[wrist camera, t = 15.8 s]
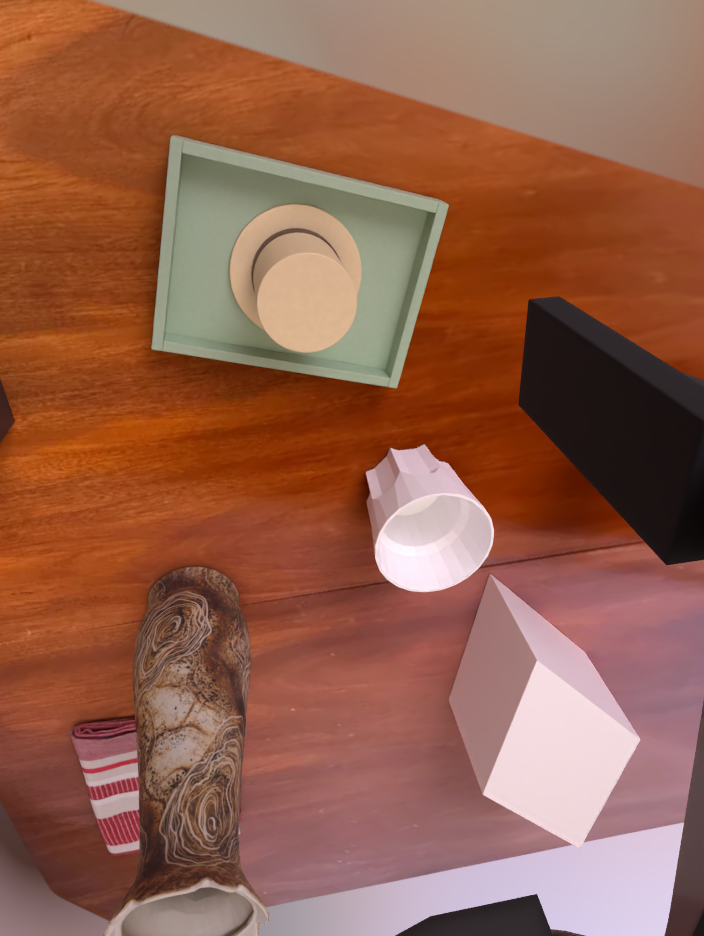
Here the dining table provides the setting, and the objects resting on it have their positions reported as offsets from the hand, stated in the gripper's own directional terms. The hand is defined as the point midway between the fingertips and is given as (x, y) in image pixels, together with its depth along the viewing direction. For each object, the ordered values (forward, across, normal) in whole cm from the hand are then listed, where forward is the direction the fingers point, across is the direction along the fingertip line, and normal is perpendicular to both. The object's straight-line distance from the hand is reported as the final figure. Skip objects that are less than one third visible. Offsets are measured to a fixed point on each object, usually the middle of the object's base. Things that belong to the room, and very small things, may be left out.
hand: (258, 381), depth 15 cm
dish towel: (+37, -17, -64) cm, 76 cm away
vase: (+37, -9, -38) cm, 54 cm away
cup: (+37, +12, -27) cm, 47 cm away
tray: (+37, +4, -6) cm, 37 cm away
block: (+37, +26, -57) cm, 72 cm away
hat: (+36, +4, -6) cm, 37 cm away
